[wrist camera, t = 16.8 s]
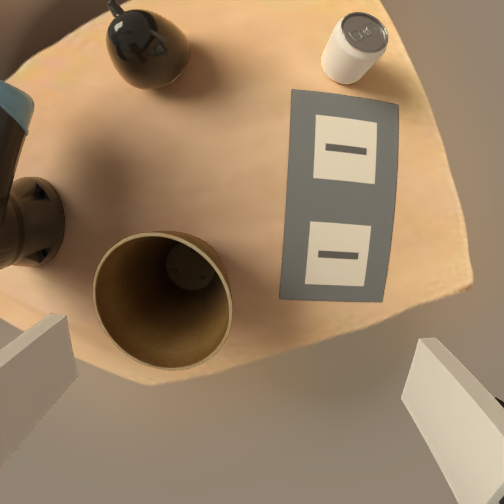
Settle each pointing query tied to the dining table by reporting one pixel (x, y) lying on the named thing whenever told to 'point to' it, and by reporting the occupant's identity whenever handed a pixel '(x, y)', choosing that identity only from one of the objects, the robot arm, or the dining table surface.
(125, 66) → the pump dispenser
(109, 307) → the plant pot
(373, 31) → the can
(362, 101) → the label panel
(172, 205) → the dining table surface
